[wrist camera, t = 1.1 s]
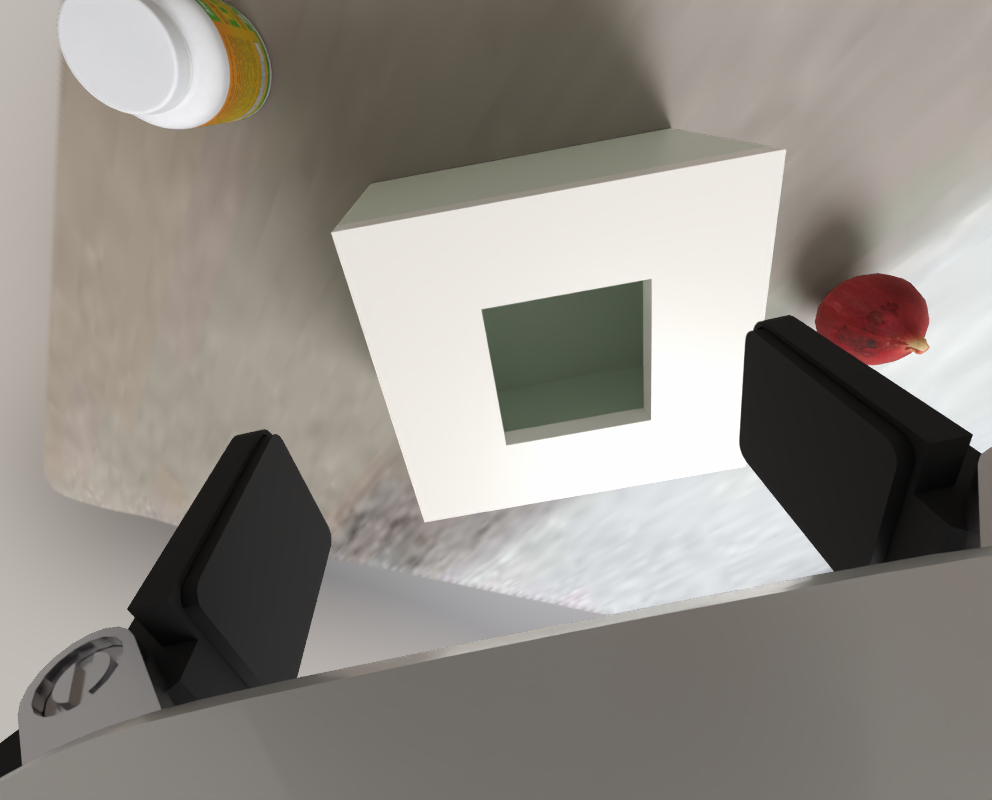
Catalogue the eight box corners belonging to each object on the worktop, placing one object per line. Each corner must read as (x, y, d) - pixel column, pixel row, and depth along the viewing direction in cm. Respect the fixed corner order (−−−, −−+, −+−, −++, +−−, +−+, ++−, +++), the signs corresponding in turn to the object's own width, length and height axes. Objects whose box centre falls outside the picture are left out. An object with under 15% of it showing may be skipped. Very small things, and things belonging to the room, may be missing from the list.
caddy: (370, 183, 30) (331, 232, 20) (671, 128, 30) (786, 148, 20) (431, 407, 39) (424, 522, 29) (666, 365, 38) (745, 466, 28)
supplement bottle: (276, 17, 26) (195, -16, 18) (272, 133, 29) (200, 151, 20) (160, -19, 25) (16, -71, 17) (166, 105, 28) (46, 113, 19)
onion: (786, 342, 38) (859, 398, 31) (799, 267, 35) (883, 310, 28) (864, 329, 38) (954, 382, 31) (883, 253, 35) (987, 293, 28)
